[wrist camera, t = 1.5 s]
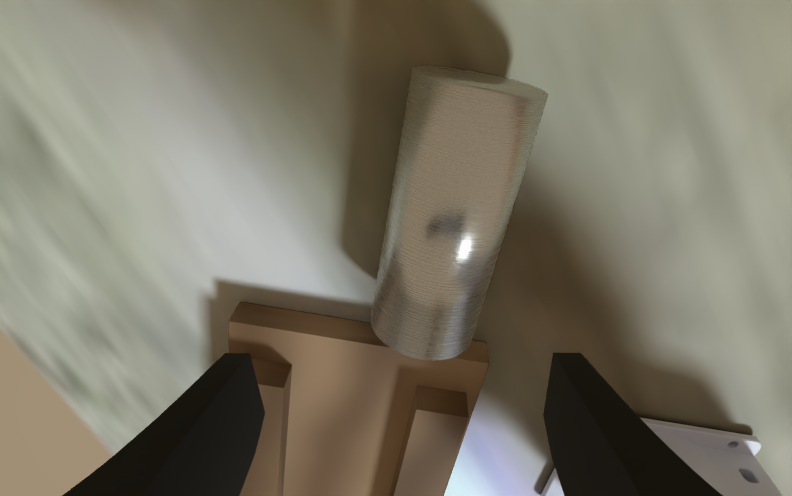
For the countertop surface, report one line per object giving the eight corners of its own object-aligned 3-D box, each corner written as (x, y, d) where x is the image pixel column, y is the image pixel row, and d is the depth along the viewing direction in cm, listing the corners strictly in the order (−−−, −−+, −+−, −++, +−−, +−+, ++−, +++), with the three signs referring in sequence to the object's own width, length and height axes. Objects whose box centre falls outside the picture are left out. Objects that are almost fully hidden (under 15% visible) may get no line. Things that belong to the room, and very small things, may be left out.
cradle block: (485, 342, 22) (493, 388, 20) (417, 546, 31) (417, 597, 28) (240, 301, 22) (215, 342, 20) (240, 520, 31) (223, 568, 28)
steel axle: (572, 96, 15) (498, 100, 12) (492, 333, 20) (425, 377, 17) (466, 66, 18) (384, 63, 15) (418, 283, 22) (348, 314, 19)
